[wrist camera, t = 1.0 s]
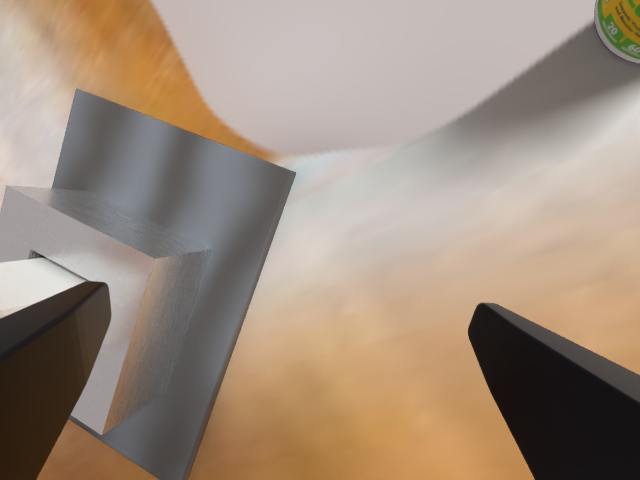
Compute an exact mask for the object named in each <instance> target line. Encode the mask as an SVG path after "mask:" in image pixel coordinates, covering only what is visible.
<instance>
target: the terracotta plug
mask: <svg viewBox="0 0 640 480" xmlns="http://www.w3.org/2000/svg"><path fill="white" fill-rule="evenodd" d="M85 281H89V280H87V279H86V278H84V277H82V276H80V275H78V274H76V273H74V272H73V271H71V270H69V269H67V268H65V267H63V266H61V265H60V264H58V263H56V262H54V261H52V260H50V259H48V258H47V257H45V258H36V259H28V260H19V261H10V262H2V263H0V318H3V317H5V316H7V315H9V314H12V313H14V312H16V311H19V310H21V309H23V308H25V307H28V306H30V305H32V304H35V303H37V302H39V301H41V300H44V299H46V298H48V297H51V296H53V295H55V294H57V293H60V292H62V291H64V290H67V289H69V288H71V287H74V286H76V285H78V284H80V283H83V282H85Z"/></svg>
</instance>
